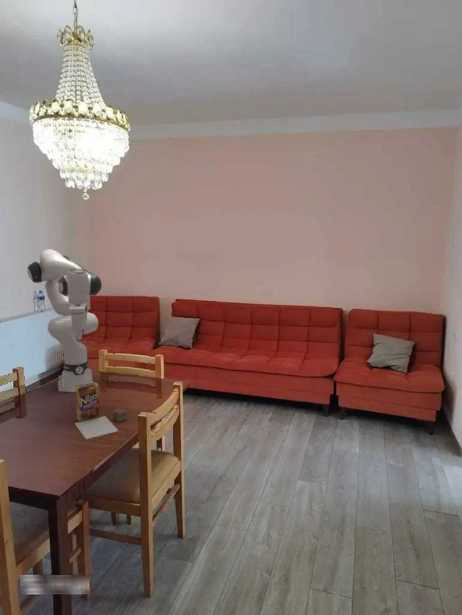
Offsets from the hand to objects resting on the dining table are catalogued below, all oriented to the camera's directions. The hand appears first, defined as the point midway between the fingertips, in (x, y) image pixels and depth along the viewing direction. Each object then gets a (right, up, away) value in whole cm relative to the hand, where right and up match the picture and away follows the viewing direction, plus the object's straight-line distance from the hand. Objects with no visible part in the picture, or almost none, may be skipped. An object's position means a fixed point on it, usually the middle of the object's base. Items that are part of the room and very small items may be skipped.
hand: (81, 336), depth 190 cm
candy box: (+4, -36, -2) cm, 36 cm away
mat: (+10, -37, -11) cm, 40 cm away
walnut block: (+18, -36, -3) cm, 40 cm away
